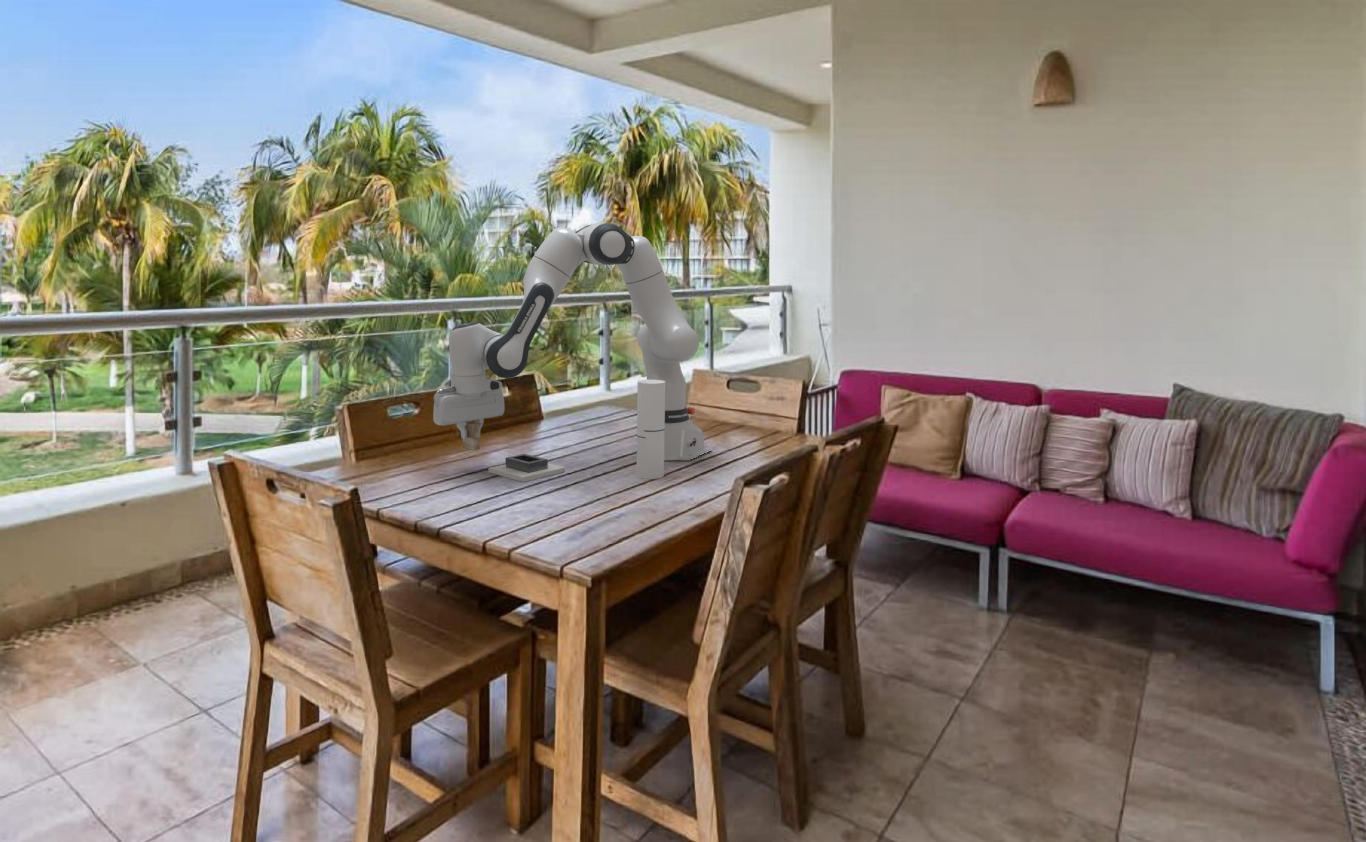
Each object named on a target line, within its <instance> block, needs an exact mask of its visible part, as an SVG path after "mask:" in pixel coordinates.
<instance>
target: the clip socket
mask: <svg viewBox="0 0 1366 842" xmlns="http://www.w3.org/2000/svg"><path fill="white" fill-rule="evenodd" d="M504 462H505V464H506V467H508V468H512V469H516V470H519V471H523V472H527V473H531V472H535V471H540V470H544V469H548V464H549V462H548V459H547V458H543V457H541V456H535V455H530V454H528V453H527V454H526V453H521V454H517V455H512V456H506V457H505V461H504Z"/></svg>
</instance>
